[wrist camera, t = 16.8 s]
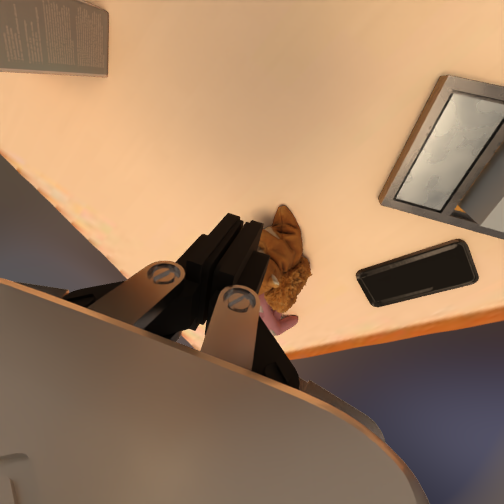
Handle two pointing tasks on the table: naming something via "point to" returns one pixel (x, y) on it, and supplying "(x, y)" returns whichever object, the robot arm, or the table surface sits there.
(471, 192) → the gray rectangular block
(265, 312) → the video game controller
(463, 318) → the table surface
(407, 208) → the gray divided tray
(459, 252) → the phone
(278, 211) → the stuffed squirrel
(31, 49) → the grey carton box
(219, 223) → the robot arm
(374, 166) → the table surface
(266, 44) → the table surface
